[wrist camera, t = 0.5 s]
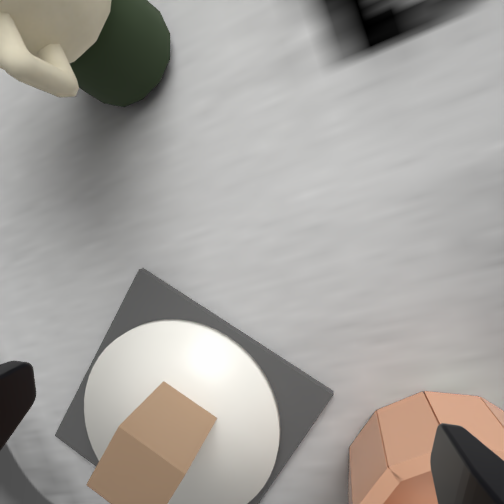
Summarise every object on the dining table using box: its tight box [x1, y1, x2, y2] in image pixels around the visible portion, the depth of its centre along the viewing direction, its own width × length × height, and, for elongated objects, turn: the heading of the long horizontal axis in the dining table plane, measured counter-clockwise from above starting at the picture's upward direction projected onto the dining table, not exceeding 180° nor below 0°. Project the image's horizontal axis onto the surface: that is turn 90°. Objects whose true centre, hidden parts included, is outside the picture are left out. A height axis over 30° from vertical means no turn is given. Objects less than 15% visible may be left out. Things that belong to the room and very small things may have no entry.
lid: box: [84, 319, 281, 504], centre depth 21 cm, size 13×13×6 cm
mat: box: [55, 268, 333, 504], centre depth 24 cm, size 14×14×1 cm
